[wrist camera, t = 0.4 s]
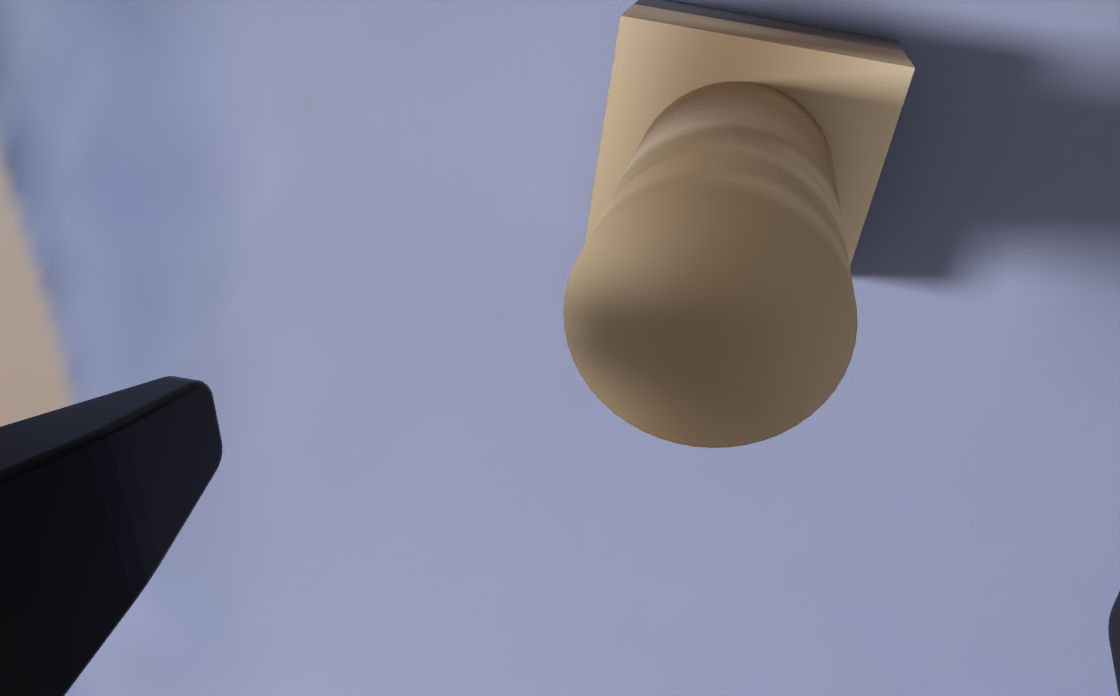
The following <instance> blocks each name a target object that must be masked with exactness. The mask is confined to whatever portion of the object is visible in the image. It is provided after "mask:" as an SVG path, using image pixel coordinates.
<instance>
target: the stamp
mask: <svg viewBox="0 0 1120 696" xmlns="http://www.w3.org/2000/svg"><path fill="white" fill-rule="evenodd" d="M914 70H915V67H914V65H913V64H912V62H911V61H910V59H909V58H908V56H907V55H906V53H905V52H904V51H903V49H902V48H901V46H900V45H899V43H898V42H897V41H896V40H890V39H884V38H878V37H873V36H867V35H861V34H855V33H850V32H844V31H838V30H832V29H827V28H821V27H815V26H809V25H804V24H798V23H792V22H786V21H781V20H775V19H769V18H763V17H758V16H752V15H746V14H740V13H735V12H729V11H723V10H717V9H711V8H706V7H700V6H694V5H688V4H683V3H677V2H671V1H665V0H639V1H637V2H636V3H635V4H634V5H633V6H631V7H630V8H629V9H628V10H627V11H625V12H624V13H623V14H622V15H621V16H620V22H619V29H618V35H617V41H616V48H615V54H614V60H613V67H612V73H611V79H610V86H609V92H608V98H607V105H606V111H605V117H604V124H603V130H602V136H601V143H600V149H599V155H598V162H597V168H596V174H595V181H594V187H593V194H592V200H591V206H590V213H589V219H588V225H587V232H586V238H585V244H584V247H583V249H582V251H581V253H580V255H579V257H578V258H577V260H576V262H575V264H574V267H573V269H572V272H571V274H570V277H569V280H568V284H567V288H566V293H565V300H564V327H565V333H566V338H567V343H568V347H569V349H570V352H571V355H572V358H573V361H574V363H575V365H576V366H577V368H578V370H579V372H580V374H581V376H582V377H583V379H584V380H585V382H586V383H587V385H588V386H589V388H590V389H591V390H592V391H593V393H594V394H595V395H596V396H597V397H598V398H599V399H600V401H601V402H602V403H604V404H605V405H606V406H607V407H608V408H609V409H610V410H611V411H612V412H614V413H615V414H616V415H618V416H619V417H620V418H622V419H623V420H625V421H626V422H627V423H629V424H631V425H633V426H634V427H636V428H638V429H640V430H642V431H644V432H646V433H648V434H651V435H653V436H655V437H658V438H661V439H664V440H667V441H671V442H674V443H678V444H683V445H689V446H695V447H708V448H719V447H734V446H741V445H748V444H751V443H755V442H759V441H763V440H766V439H769V438H771V437H774V436H776V435H779V434H781V433H783V432H785V431H787V430H789V429H791V428H793V427H794V426H796V425H798V424H799V423H801V422H802V421H803V420H805V419H806V418H808V417H809V416H811V415H812V414H813V413H814V412H815V411H816V410H817V409H818V408H819V407H820V406H822V405H823V404H824V403H825V401H826V400H827V399H828V398H829V397H830V395H831V394H832V393H833V392H834V391H835V389H836V387H837V386H838V384H839V383H840V381H841V379H842V378H843V376H844V374H845V372H846V370H847V367H848V365H849V363H850V360H851V357H852V353H853V350H854V346H855V341H856V332H857V308H856V301H855V295H854V289H853V283H852V277H851V271H850V265H851V262H852V259H853V256H854V253H855V250H856V247H857V244H858V241H859V238H860V235H861V232H862V229H863V225H864V222H865V219H866V216H867V213H868V210H869V207H870V204H871V201H872V198H873V195H874V192H875V189H876V186H877V183H878V180H879V177H880V174H881V171H882V168H883V165H884V162H885V158H886V155H887V152H888V149H889V146H890V143H891V140H892V137H893V134H894V131H895V128H896V125H897V122H898V119H899V116H900V113H901V110H902V107H903V104H904V101H905V98H906V95H907V91H908V88H909V85H910V82H911V79H912V76H913V73H914Z"/></svg>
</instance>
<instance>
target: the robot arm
mask: <svg viewBox="0 0 1120 696" xmlns="http://www.w3.org/2000/svg"><path fill="white" fill-rule="evenodd" d="M221 456H222V440H221V435H220V430H219V425H218V420H217V415H216V410H215V404H214V399H213V395H212V392H211V390H210V388H209V387H208V385H207V384H205V383H204V382H202V381H199V380H193V379H187V378H181V377H175V376H167V377H163V378H160V379H156V380H153V381H150V382H146V383H143V384H140V385H137V386H133V387H130V388H127V389H123V390H120V391H117V392H113V393H110V394H107V395H104V396H100V397H97V398H94V399H90V400H87V401H84V402H81V403H77V404H74V405H71V406H67V407H64V408H61V409H58V410H54V411H51V412H48V413H44V414H41V415H38V416H35V417H31V418H28V419H25V420H21V421H19V422H15V423H12V424H8V425H5V426H2V427H0V696H65V694H66V693H67V692H68V690H69V689H70V688H71V686H72V685H73V683H74V682H75V681H76V679H77V678H78V677H79V675H80V674H81V673H82V671H83V670H84V669H85V667H86V666H87V665H88V663H89V662H90V661H91V659H92V658H93V657H94V655H95V654H96V653H97V651H98V650H99V649H100V647H101V646H102V645H103V643H104V642H105V641H106V639H107V638H108V637H109V635H110V634H111V633H112V631H113V630H114V629H115V627H116V626H117V625H118V623H119V622H120V621H121V619H122V618H123V617H124V615H125V614H126V613H127V611H128V610H129V609H130V607H131V606H132V605H133V603H134V602H135V600H136V599H137V598H138V596H139V595H140V593H141V592H142V591H143V589H144V588H145V586H146V585H147V584H148V582H149V580H150V579H151V577H152V576H153V574H154V573H155V571H156V569H157V568H158V566H159V565H160V563H161V562H162V560H163V558H164V557H165V555H166V553H167V552H168V550H169V548H170V547H171V545H172V543H173V542H174V540H175V538H176V537H177V535H178V533H179V532H180V530H181V528H182V527H183V525H184V523H185V522H186V520H187V519H188V517H189V515H190V514H191V512H192V510H193V509H194V507H195V505H196V504H197V502H198V500H199V499H200V497H201V495H202V494H203V492H204V490H205V489H206V487H207V485H208V484H209V482H210V480H211V479H212V477H213V475H214V474H215V472H216V470H217V468H218V466H219V464H220V461H221ZM1108 628H1109V641H1110V647H1111V653H1112V659H1113V664H1114V670H1115V676H1116V682H1117V688H1118V693H1119V696H1120V591H1119V594H1118V596H1117V598H1116V600H1115V603H1114V605H1113V607H1112V610H1111V613H1110V618H1109V626H1108Z"/></svg>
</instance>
